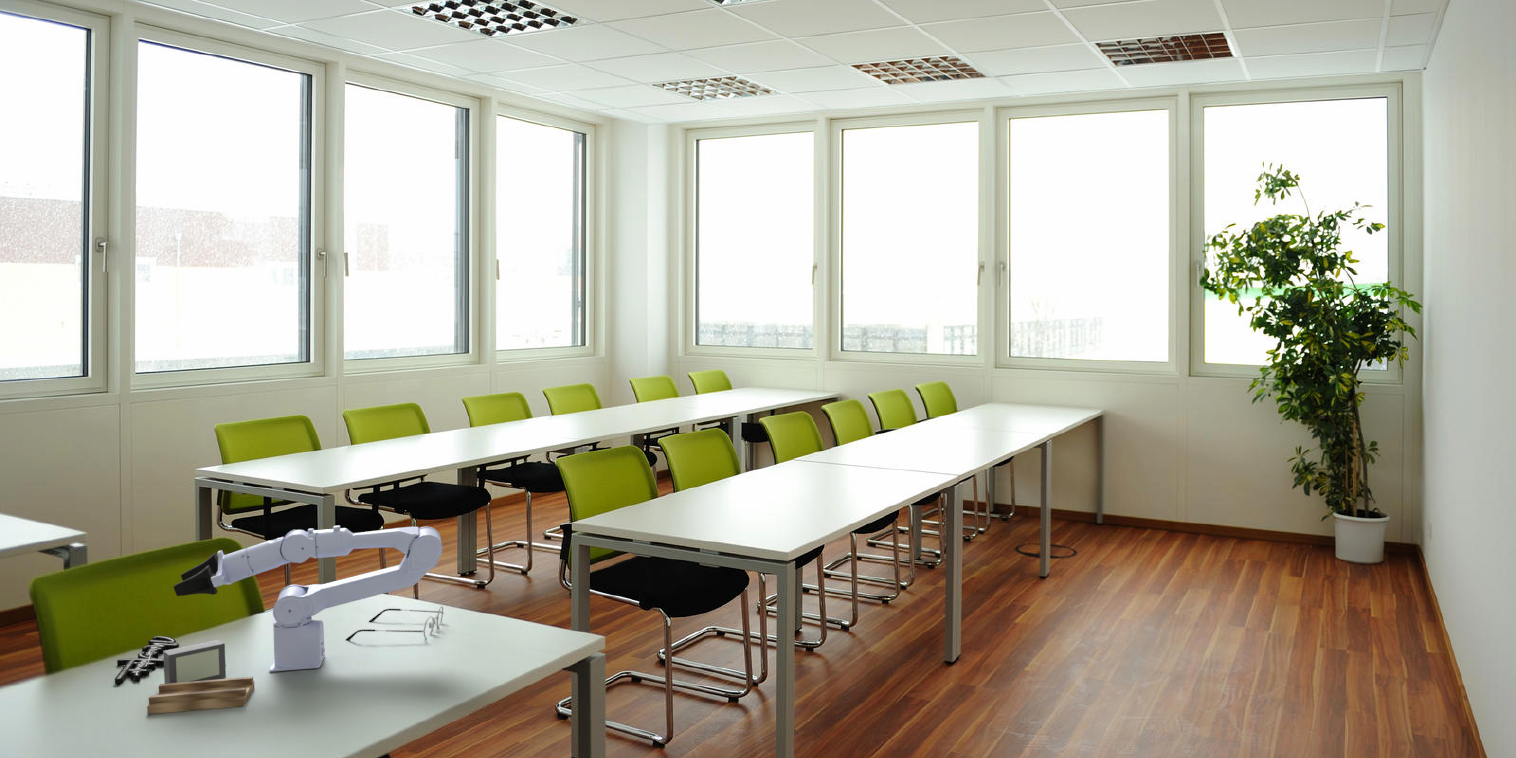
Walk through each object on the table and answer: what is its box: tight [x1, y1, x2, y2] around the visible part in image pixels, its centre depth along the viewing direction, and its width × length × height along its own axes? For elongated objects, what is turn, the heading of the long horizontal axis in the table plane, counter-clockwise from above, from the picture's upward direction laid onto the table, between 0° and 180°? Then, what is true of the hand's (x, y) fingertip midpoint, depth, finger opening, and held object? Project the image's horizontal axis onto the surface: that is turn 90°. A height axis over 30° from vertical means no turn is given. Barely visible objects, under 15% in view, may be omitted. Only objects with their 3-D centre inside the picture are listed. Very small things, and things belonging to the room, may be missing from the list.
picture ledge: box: [146, 676, 255, 715], centre depth 194 cm, size 16×9×3 cm, turn 105°
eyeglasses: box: [345, 605, 445, 641], centre depth 236 cm, size 16×19×5 cm
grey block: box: [162, 639, 227, 684], centre depth 204 cm, size 10×4×7 cm, turn 135°
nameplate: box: [114, 635, 180, 686], centre depth 215 cm, size 27×2×10 cm
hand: (179, 585), depth 206 cm, fingers open, 7 cm apart
